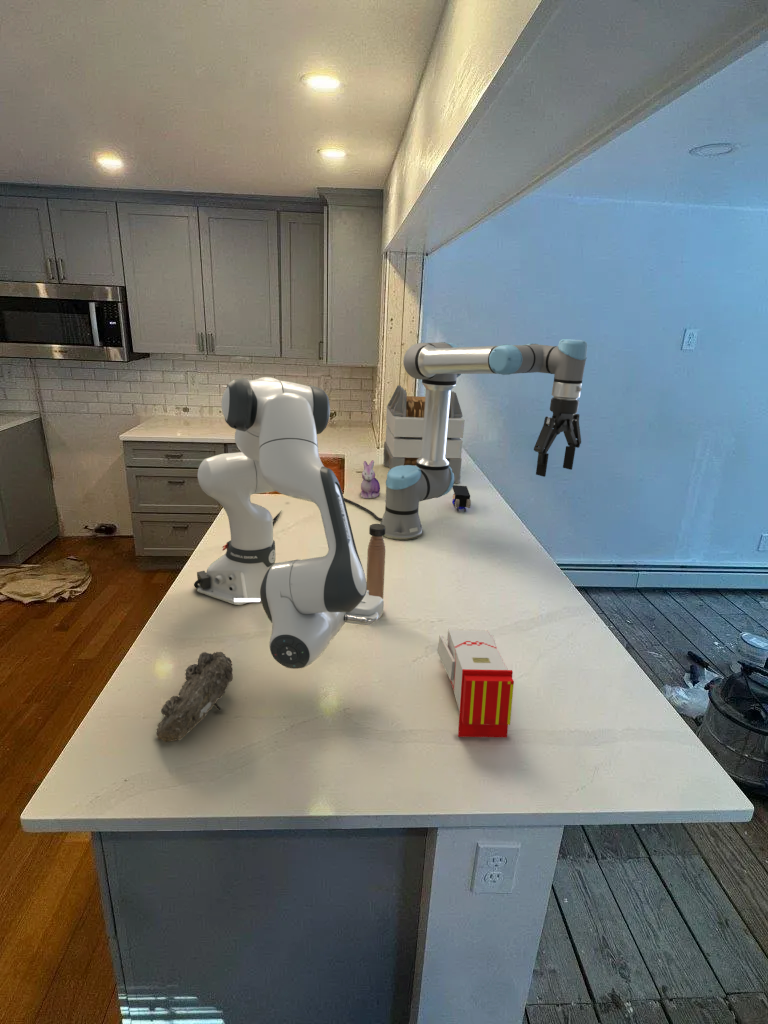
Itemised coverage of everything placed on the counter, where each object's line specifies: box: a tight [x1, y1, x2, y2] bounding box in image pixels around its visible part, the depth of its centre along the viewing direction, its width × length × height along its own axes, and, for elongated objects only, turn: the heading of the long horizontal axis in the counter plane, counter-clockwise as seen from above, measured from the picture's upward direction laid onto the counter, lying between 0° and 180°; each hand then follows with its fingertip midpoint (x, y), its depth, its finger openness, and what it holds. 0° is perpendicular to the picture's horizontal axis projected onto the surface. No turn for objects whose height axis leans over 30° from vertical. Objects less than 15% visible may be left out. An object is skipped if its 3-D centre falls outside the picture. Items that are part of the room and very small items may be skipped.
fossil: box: [155, 651, 234, 743], centre depth 109 cm, size 22×10×15 cm
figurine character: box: [451, 484, 472, 513], centre depth 228 cm, size 7×8×15 cm
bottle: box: [366, 536, 387, 600], centre depth 143 cm, size 4×4×24 cm
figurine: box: [360, 460, 381, 499], centre depth 236 cm, size 9×10×15 cm
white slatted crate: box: [383, 384, 465, 484], centre depth 268 cm, size 34×33×41 cm
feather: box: [273, 510, 282, 526], centre depth 212 cm, size 2×28×2 cm
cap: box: [368, 523, 385, 537], centre depth 140 cm, size 4×4×2 cm
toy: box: [437, 628, 515, 738], centre depth 117 cm, size 12×13×30 cm
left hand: (344, 590), depth 122 cm, fingers open, 8 cm apart
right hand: (554, 472), depth 164 cm, fingers open, 13 cm apart
